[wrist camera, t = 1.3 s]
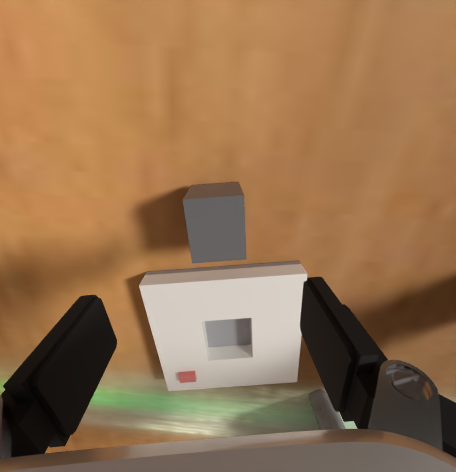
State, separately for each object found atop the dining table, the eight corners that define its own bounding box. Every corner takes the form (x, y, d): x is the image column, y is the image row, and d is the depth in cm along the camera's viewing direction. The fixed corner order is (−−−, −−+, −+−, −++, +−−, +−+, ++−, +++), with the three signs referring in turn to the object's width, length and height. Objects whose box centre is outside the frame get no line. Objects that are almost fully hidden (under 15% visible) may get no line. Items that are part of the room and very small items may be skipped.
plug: (237, 179, 25) (243, 195, 18) (240, 229, 27) (246, 259, 20) (192, 182, 25) (182, 199, 18) (199, 232, 27) (192, 263, 20)
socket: (299, 260, 29) (308, 276, 26) (291, 364, 37) (298, 386, 34) (146, 271, 29) (137, 288, 26) (172, 372, 37) (167, 395, 34)
